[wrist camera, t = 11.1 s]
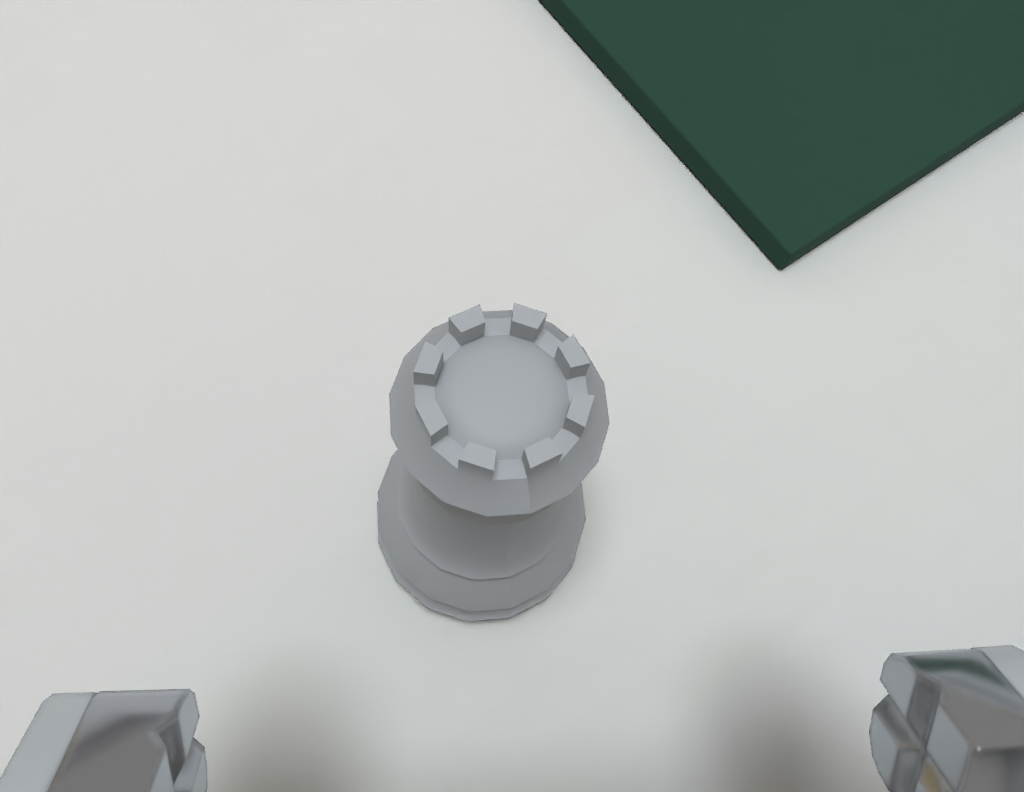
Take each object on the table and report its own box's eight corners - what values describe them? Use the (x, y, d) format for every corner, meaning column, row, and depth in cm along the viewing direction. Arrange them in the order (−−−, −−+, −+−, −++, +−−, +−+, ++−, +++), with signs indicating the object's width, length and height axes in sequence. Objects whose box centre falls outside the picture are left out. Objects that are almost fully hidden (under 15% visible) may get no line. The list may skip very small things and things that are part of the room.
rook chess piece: (606, 592, 19) (710, 495, 12) (404, 650, 19) (382, 584, 11) (545, 406, 21) (605, 216, 13) (356, 452, 20) (309, 279, 13)
